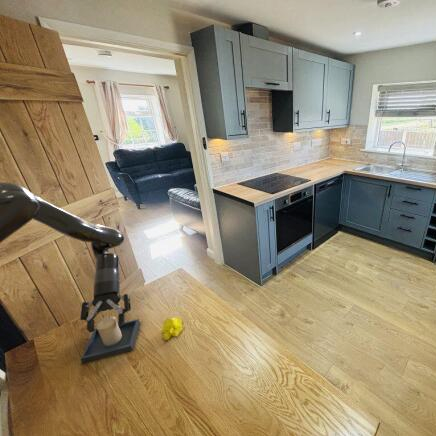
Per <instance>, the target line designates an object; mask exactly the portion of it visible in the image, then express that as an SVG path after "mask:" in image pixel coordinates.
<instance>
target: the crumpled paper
mask: <svg viewBox="0 0 436 436" xmlns="http://www.w3.org/2000/svg"><path fill="white" fill-rule="evenodd" d="M183 329H184V327H183V324H182V319H181V318H179V317H176V318H166V319H165V320H164V322H163V325H162V327H161V330H160V331H161V332H162V334H163V335H162V337H163V340H166V341H168V340H169V339H170V338H171V337H172V336H173V337H177V336H178V335H179V334H181V332H182V330H183Z"/></svg>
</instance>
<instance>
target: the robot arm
mask: <svg viewBox="0 0 436 436" xmlns="http://www.w3.org/2000/svg"><path fill="white" fill-rule="evenodd" d="M32 220H33V221H36V222H39V223H40V224H43V225H45V226H46V227H48V228H51V229H52V230H54V231H56V232H57V233H59V234H61V235H64V236H66V237H69V238H72V239H74V240H77V241H80V242H84V243H90V247H91V250H92V254H93V256H94V259H95V267H94V269H95V271H94V277H93V299H92V301H83V302H82V303H81V310H80V317H79V319H80V320H81V321H86V331H88V333H93V331H94V329H95V319H96V317H97V316H98V315H99V314H100V313H101V312H106V311H111V310H115V311H116V312H117V313H118V314H117V323H118V326H120V325H123V323H124V322H126V321H125V320H126V319H125V318H126V317H125V316H126V313H128V312H130V311H131V310H132V305H131V295H130V294H128V293H124V294H123V295H121V294H120V293H121V289H120V286H121V285H120V283H121V281H120V280H121V275H120V258H119V255H118V254H116V253H113V252H111V253H110V252H109V250H111V249H115V248H119V247H120V246H122V244H123V243H125V236H124V233H122V231H120V230H119V229H117V228H115V227H111V226H105V225H101V224H96V223H93V222H91V221H88V220H86V219H84V218H82V217H79V216H78V215H75V214H72V213H71V212H68V211H65V210H64V209H61V208H59V207H57V206H55V205H53V204H51V203H49V202H47V201H46V200H44V199H42V198H41V197H39V196H37V195H35V194H33V192H31V191H29V190H27V188H25V187H23V186H21V185H19V184H16V183H13V182H7V181H6V182H0V244H1V243H3V242H4V241H6V239H8V238H9V237H10V236H12V235H13V234H15V233H17V232H18V231H19V230H21V229H22V228H23V227H25V226H26V225H27V224H29V223H30V222H31V221H32ZM121 300H122V301H123V307H124V308H123V307H122V306H121V305H120V303H119V302H120V301H121ZM92 306H93V307H94V308H93V309H92V310H91V311H90V308H92ZM89 313H90V314H89Z"/></svg>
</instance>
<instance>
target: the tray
mask: <svg viewBox="0 0 436 436" xmlns="http://www.w3.org/2000/svg"><path fill="white" fill-rule="evenodd" d="M140 325H141V322H140V319H139V318H137V319H133V320H128V321H124V323H123V325H120V326H119V329H120V331H121V334H122V338H121V340H120V341H119V342H118V343H116V344H114V345H112V346H105V345H104V343H103V341H102V338H101V336H100V334H99V332H98V329H97V328H94V331H93V332H91V335H90V338H89V339H88V342H87V344H86V346H85V348H84V350H83V352H82V355H81V356H80V361H81V363H82V364H86V363H89V362H93V361H98V360H101V359H105V358H109V357H113V356H116V355H120V354H124V353H128V352H132V351H133V350H134V347H135V345H136V344H135V343H136V339H137V336H138V331H139V328H140Z"/></svg>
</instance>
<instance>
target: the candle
mask: <svg viewBox="0 0 436 436" xmlns="http://www.w3.org/2000/svg"><path fill="white" fill-rule="evenodd" d="M96 329H98V332H99V334H100V336H101V338H102V341H103V343H104V345H105V346H112V345H114V344H116V343H118V342H119V341H120V340H121V338H122V334H121V331H120V329H119V326H118V320H117V318H116V317H115V316H106V317H102V318H101V319H100V320H99V321H98V322H97V324H96Z"/></svg>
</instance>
